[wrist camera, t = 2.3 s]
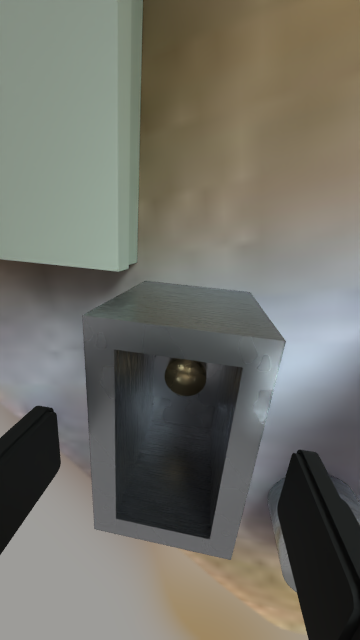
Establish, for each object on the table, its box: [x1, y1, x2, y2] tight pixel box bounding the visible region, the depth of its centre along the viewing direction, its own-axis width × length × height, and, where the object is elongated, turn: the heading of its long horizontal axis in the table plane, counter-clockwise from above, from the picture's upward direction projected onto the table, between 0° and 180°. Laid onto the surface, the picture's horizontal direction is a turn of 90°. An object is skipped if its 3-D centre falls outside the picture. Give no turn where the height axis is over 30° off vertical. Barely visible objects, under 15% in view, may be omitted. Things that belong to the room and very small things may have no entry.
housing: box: [82, 281, 286, 560], centre depth 12 cm, size 10×6×7 cm, turn 175°
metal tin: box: [268, 475, 360, 592], centre depth 15 cm, size 6×6×4 cm
